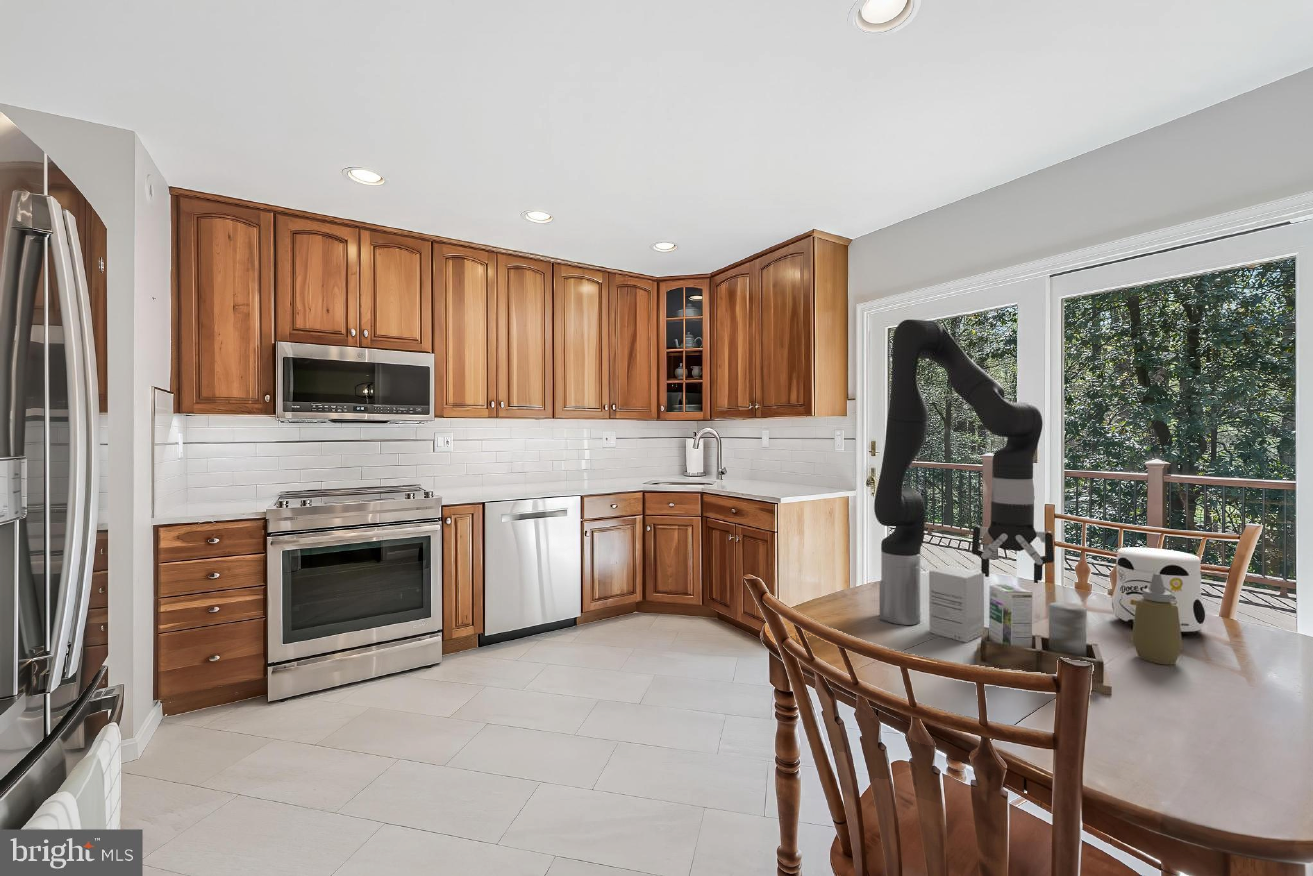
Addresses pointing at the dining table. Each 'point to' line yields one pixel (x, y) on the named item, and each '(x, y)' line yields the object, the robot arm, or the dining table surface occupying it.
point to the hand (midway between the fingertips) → (1011, 579)
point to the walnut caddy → (1049, 648)
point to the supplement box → (956, 603)
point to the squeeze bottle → (1157, 625)
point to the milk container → (1177, 579)
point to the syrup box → (1010, 615)
